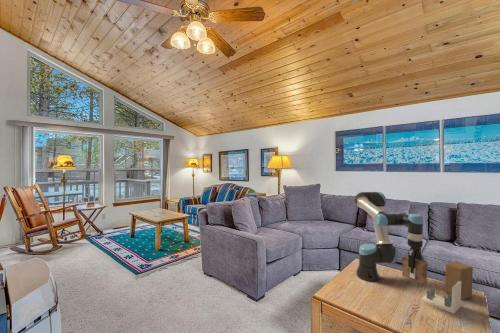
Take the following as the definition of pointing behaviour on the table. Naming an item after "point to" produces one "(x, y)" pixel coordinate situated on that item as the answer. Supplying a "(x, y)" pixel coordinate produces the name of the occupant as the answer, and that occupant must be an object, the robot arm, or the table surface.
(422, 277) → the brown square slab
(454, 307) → the l-bracket with handles
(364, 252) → the robot arm
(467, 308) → the table surface
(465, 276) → the wooden block
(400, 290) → the table surface
